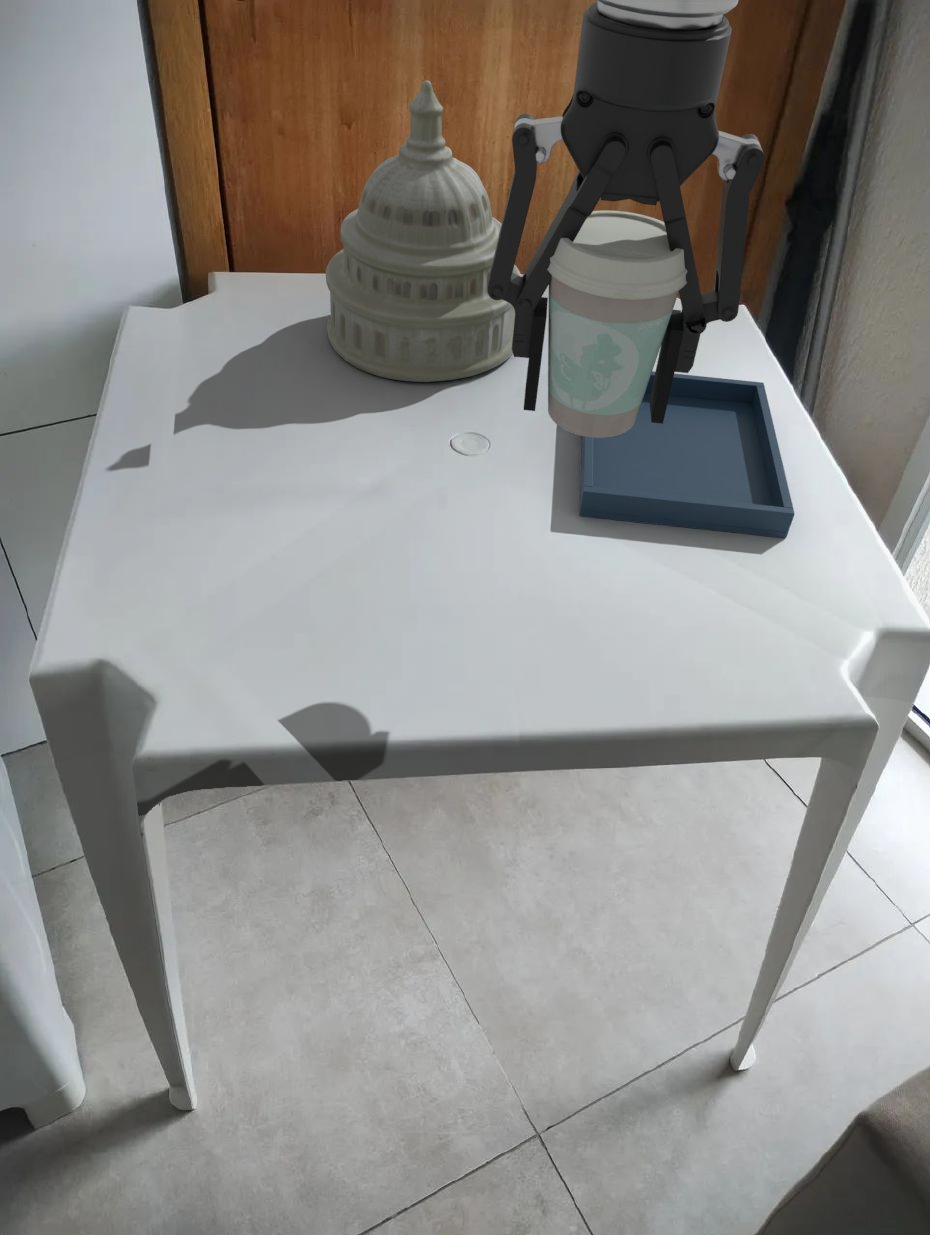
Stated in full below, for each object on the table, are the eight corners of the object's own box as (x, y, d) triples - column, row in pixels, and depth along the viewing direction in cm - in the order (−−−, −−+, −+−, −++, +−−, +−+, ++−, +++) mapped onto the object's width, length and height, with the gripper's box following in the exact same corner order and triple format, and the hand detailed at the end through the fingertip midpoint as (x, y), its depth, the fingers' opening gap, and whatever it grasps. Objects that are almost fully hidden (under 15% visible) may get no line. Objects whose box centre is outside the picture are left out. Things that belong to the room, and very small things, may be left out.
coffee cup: (500, 407, 66) (517, 226, 58) (588, 368, 71) (615, 195, 62) (596, 466, 62) (629, 280, 54) (682, 421, 66) (725, 243, 58)
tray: (786, 538, 85) (794, 513, 83) (579, 516, 85) (583, 491, 84) (756, 405, 101) (763, 382, 99) (582, 387, 101) (585, 364, 99)
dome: (565, 117, 84) (324, 116, 81) (534, 381, 101) (334, 388, 98) (517, 51, 99) (310, 47, 95) (497, 292, 116) (321, 296, 112)
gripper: (849, 8, 53) (742, 391, 68) (463, -26, 53) (444, 362, 69) (880, 45, 47) (756, 453, 63) (449, 7, 48) (431, 421, 63)
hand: (593, 405), depth 66 cm, fingers closed on coffee cup, 8 cm apart
